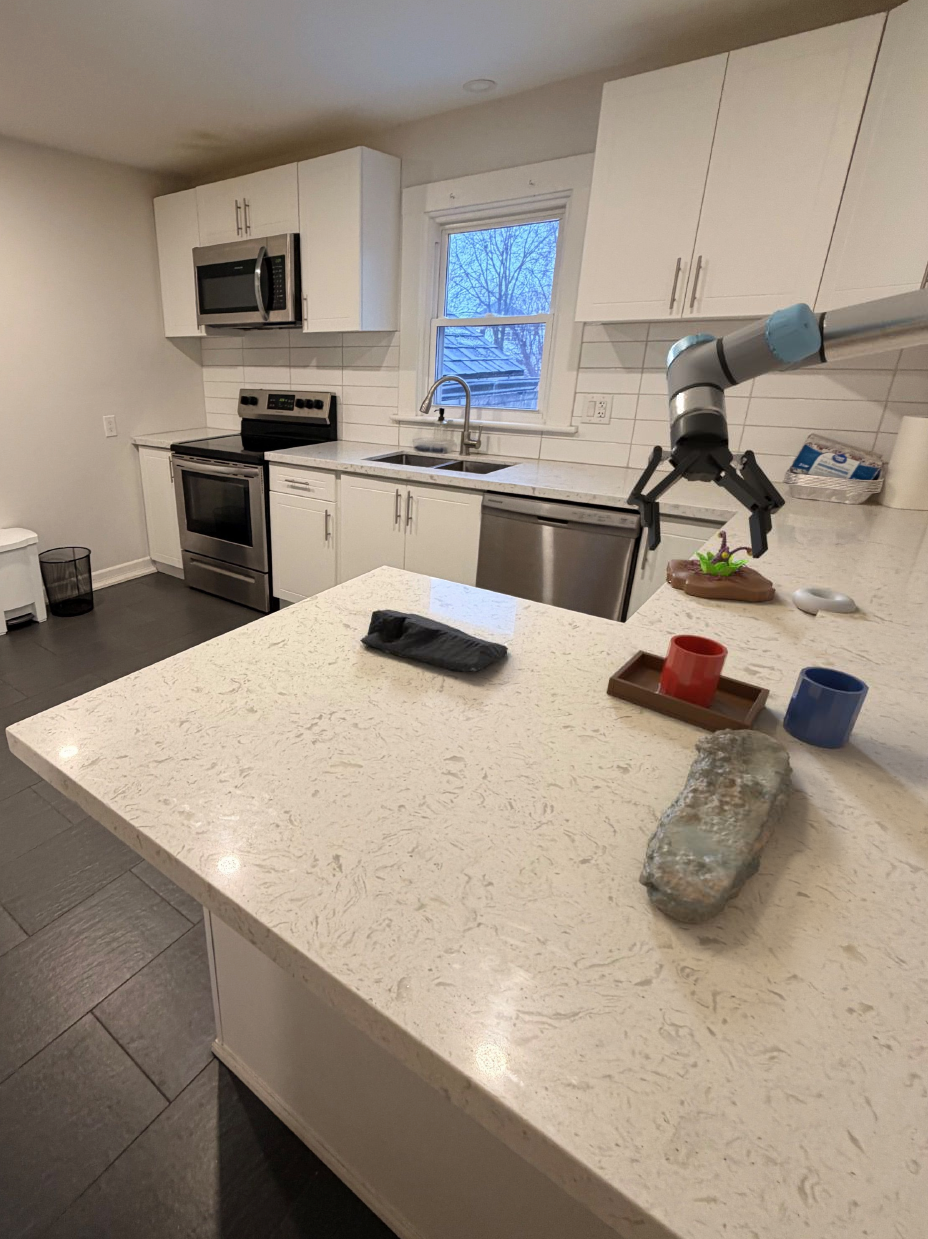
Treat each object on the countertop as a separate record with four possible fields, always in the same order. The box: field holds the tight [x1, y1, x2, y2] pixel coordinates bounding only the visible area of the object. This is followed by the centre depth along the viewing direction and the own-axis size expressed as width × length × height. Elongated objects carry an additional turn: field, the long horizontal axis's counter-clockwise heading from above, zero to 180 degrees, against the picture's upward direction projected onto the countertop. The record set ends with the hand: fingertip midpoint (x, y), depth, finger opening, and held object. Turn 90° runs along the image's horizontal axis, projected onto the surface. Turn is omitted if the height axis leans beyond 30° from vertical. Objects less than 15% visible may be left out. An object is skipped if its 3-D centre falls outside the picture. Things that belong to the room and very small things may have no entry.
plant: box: [665, 530, 776, 603], centre depth 134 cm, size 20×20×11 cm
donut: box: [791, 586, 857, 616], centre depth 123 cm, size 10×4×10 cm
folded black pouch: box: [359, 609, 509, 672], centre depth 104 cm, size 15×22×5 cm
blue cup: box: [782, 666, 870, 749], centre depth 83 cm, size 7×7×8 cm
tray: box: [605, 649, 771, 733], centre depth 91 cm, size 18×13×3 cm
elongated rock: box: [638, 728, 794, 925], centre depth 67 cm, size 35×5×10 cm
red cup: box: [658, 634, 729, 708], centre depth 90 cm, size 7×7×8 cm
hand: (706, 550), depth 89 cm, fingers open, 13 cm apart
